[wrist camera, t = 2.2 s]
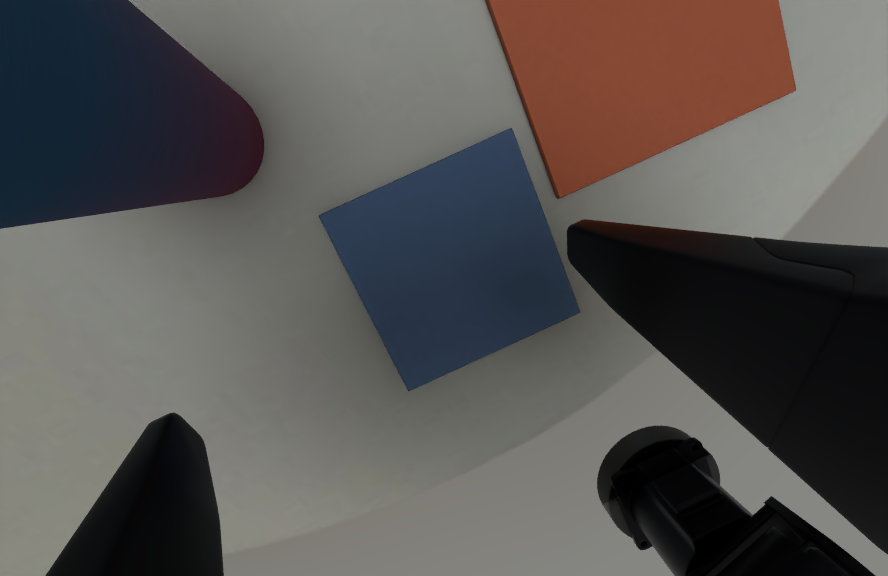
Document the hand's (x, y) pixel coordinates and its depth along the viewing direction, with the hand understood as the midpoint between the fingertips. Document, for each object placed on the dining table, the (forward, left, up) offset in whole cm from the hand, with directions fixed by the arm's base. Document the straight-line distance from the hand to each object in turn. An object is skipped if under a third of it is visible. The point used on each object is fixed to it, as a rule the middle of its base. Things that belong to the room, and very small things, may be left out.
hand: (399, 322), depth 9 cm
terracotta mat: (+7, -15, -12) cm, 20 cm away
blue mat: (-2, -2, -12) cm, 12 cm away
